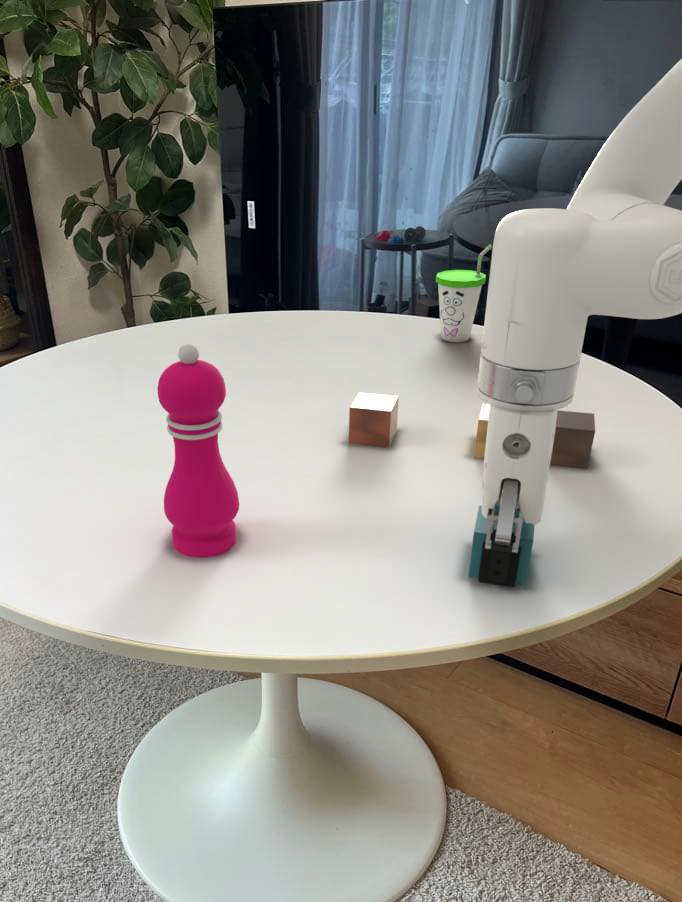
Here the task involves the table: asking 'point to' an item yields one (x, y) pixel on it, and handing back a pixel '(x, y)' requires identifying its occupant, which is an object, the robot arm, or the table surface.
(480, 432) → the oak block
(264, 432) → the table surface
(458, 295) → the cup
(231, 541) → the pepper mill
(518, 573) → the teal block
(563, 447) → the walnut block
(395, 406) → the cherry block
